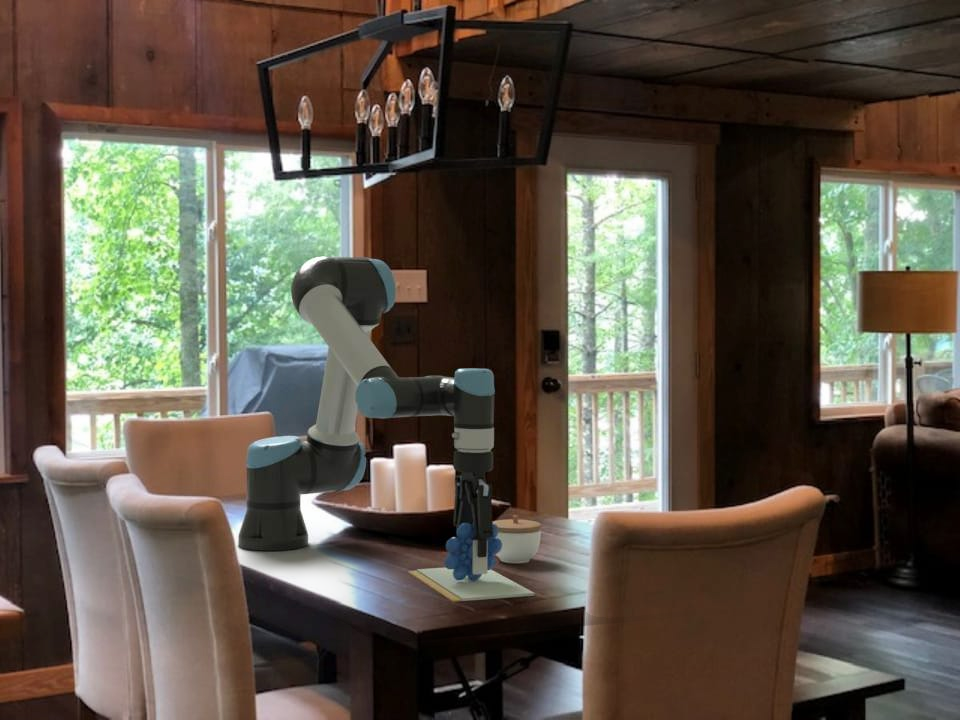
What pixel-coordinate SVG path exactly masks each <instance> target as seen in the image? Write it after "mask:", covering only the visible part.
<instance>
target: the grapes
mask: <svg viewBox="0 0 960 720" xmlns="http://www.w3.org/2000/svg"><path fill="white" fill-rule="evenodd" d="M471 525H472V526H471ZM471 525H470V524H469V523H462V524H461V525H460V526H459V527H458V529H457V528H456V536H452V537H450V538H449V539H448V540H447V541H446V543H445V549H446V552H448V553H449V554H448V555H447V556H446V557H445V559H444V561H443V564H444V566H445V567H444V568H447V569H454V570H453V576H454V578H455V579H456V580H463V579H464V578H465V577H466V576H468V579H470V580H477V579H479V578H480V577H481V575H482V574H472V571H473V540H472V537H473V536H475V533H474V525H473V522H471ZM498 531H499V530H498V527H497V525H495V524H493V537H492V538H489V539H488V560H487V570H490V569H491V570H492V569H493V568H494V567H495V566H496V562H497V560H496V557H495V555H496V554H497V553H498V552H499V551H500V550H501V548H502V542H501V540H500V539H498V538H495V537H496V536H497V535H498Z"/></svg>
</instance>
